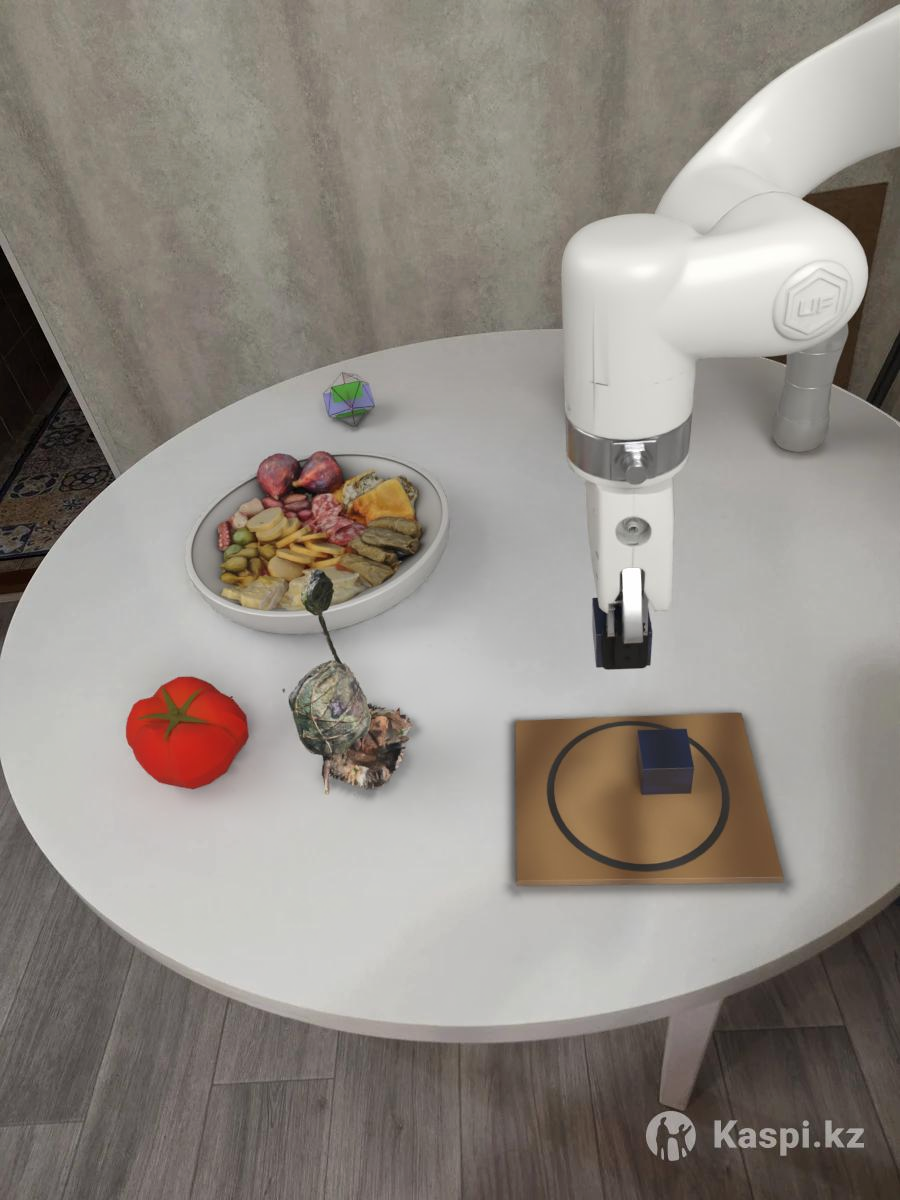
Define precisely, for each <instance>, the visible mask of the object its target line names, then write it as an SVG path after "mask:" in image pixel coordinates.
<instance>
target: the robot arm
mask: <svg viewBox="0 0 900 1200" xmlns="http://www.w3.org/2000/svg"><path fill="white" fill-rule="evenodd" d="M896 148H900V3H899V4H897V5H895V6H893V7H891V8H889V9H887V10H885V11H883V12H882V13H880V14H878V15H876V16H875V17H872V18H871V19H870V20H868V21H866V22H865V23H863V24H861V25H860V26H858V27H856V28H855V29H853V30H851V31H850V32H848V33H846V34H845V35H843V36H841V37H839V38H838V39H836V40H835V41H833V42H831V43H830V44H828V45H825V46H824V47H822V48H821V49H819V50H817V51H815V52H814V53H812V54H811V55H809V56H806V57H805V58H803V59H802V60H801V61H799V62H797V63H796V64H794V65H793V66H791V67H789V68H788V69H786V70H785V71H783V72H782V73H781V74H779V76H776V77H775V78H774V79H773V80H771V81H770V82H769V83H767V84H766V85H765V86H764V87H762V88H761V89H760V90H759V91H758V92H757V93H755V94H754V95H753V96H752V97H751V98H750V99H749V100H748V101H746V102H745V103H744V104H743V105H741V107H740V108H739V109H738V110H737V111H736V112H735V113H733V115H732V116H731V117H730V118H729V119H727V121H726V122H725V123H724V124H723V125H722V126H721V127H720V128H719V129H718V130H717V131H716V132H715V133H714V134H713V135H712V136H711V137H710V139H708V141H706V143H704V144H703V145H702V147H700V149H699V150H697V152H696V153H695V154H694V155H693V156H692V158H690V160H688V162H687V163H686V164H685V166H683V168H682V169H681V170H680V171H679V172H678V174H677V175H676V176H675V178H674V179H673V181H672V182H671V183H670V185H669V186H668V188H667V189H666V190H665V192H664V194H663V195H662V197H661V199H660V201H659V203H658V205H657V207H656V209H655V211H654V213H642V212H641V213H626V214H624V213H623V214H618V215H614V216H610V217H605V218H601V219H598V220H595V221H593V222H590V223H588V224H587V225H585V226H584V227H581V228H580V229H579V230H578V231H576V232H575V233H574V234H573V235H572V236H571V237H570V239H569V240H568V242H567V244H566V245H565V248H564V250H563V254H562V257H561V273H560V274H561V275H560V276H561V278H560V280H561V281H560V283H561V316H562V317H561V319H562V350H563V353H562V355H563V382H564V383H563V384H564V385H563V387H564V388H563V389H564V416H565V418H564V419H565V459H566V463H567V464H568V467H569V469H570V470H572V472H573V473H575V475H577V476H578V477H579V478H581V479H583V480H584V481H585V505H586V506H585V507H586V522H587V523H586V525H587V534H588V544H589V545H588V546H589V552H590V560H591V566H592V567H591V568H592V573H593V578H594V585H595V591H596V596H597V597H596V598H598V604H599V608H600V609H601V610H603V611H604V612H605V613H606V626H602V663H603V667H602V668H603V669H604V670H607V671H610V670H636V669H646V668H647V667H648V666H647V661H648V643H649V624H648V608H649V603H650V605H651V607H652V609H653V610H654V612H668V611H669V610H670V608H671V607H672V605H673V595H674V594H673V591H674V590H673V589H674V557H675V555H674V554H675V485H674V484H675V483H674V477H676V476H677V475H678V474H679V473H680V472H681V471H683V469H684V468H685V466H686V465H687V463H688V461H689V454H690V445H691V432H692V421H693V407H694V397H695V385H696V384H695V383H696V374H697V373H696V372H697V362H698V361H700V360H706V359H732V358H733V359H734V358H735V359H736V358H739V359H740V358H742V359H743V358H768V357H779V356H787V354H791V353H795V352H799V351H802V350H805V349H808V348H811V347H813V346H815V345H817V344H820V343H821V342H823V341H825V340H826V339H828V338H830V337H831V336H833V335H834V334H835V333H837V332H838V331H839V330H840V329H841V328H842V327H843V326H844V325H845V324H846V323H848V322H849V321H850V320H851V319H852V318H853V316H854V315H855V313H856V312H857V311H858V309H859V307H860V306H861V304H862V301H863V299H864V296H865V293H866V291H867V287H868V281H869V266H868V260H867V256H866V253H865V250H864V248H863V246H862V244H861V243H860V241H859V240H858V238H857V237H856V236H855V234H854V233H853V232H852V231H851V229H849V228H848V227H847V226H846V225H845V224H844V223H843V222H841V221H840V220H839V219H838V218H835V217H834V216H832V215H831V214H829V213H827V212H826V211H824V210H822V209H821V208H818V207H817V206H814V205H813V204H810V203H809V202H807V201H805V200H803V199H804V198H805V197H806V196H807V195H808V194H810V192H812V191H813V190H814V189H816V188H817V187H818V186H820V185H821V184H822V183H825V182H826V181H827V180H828V179H830V178H831V177H833V176H834V175H836V174H838V173H839V172H841V171H843V170H844V169H847V168H848V167H850V166H853V165H854V164H856V163H858V162H861V161H862V160H865V159H867V158H870V157H872V156H875V155H878V154H880V153H883V152H887V151H890V150H893V149H896ZM615 608H622V619H616V620H615Z"/></svg>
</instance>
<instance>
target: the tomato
mask: <svg viewBox="0 0 900 1200" xmlns="http://www.w3.org/2000/svg"><path fill="white" fill-rule="evenodd" d="M248 725H249V724H248V718H247V714H246V713H245V711H244V710H243V709H242V708H241V707H240V706H239V704H238V702H236V701H235V699H234V698H232V697H231V696H229V695H226V694H225V693H223V692H221V691H220V690H219V689H218V688H216V686H214V685H213V684H212V683H211V682H209V681H206V680H204V679H201V678H198V677H196V676H177V677H175V678H173V679H171V680H170V681H168V682H165V683H163V684H161V685H160V686H159V688H158V689H157V690H156V691H155V693H154V694H153V696H150V697H148V698H142V699H138V700H137V701H136V702H135V703H133V705H132V707H131V710H130V712H129V714H128V716H127V719H126V724H125V738H126V742H127V745H128V746H129V747H130V748H131V750H132V753H133V755H134V758H135V760H136V761H137V763H138V764H139V765H140V766H141V768H142V770H144V771H145V772H146V774H148V775H149V776H150V777H151V778H153V779H154V780H155V781H156V782H158V783H161V784H163V785H168V786H173V787H178V788H183V789H189V790H196V789H198V788H201V787H205V786H207V785H210V784H212V783H213V782H215V781H216V780H217V779H219V778H220V777H222V776H223V775H224V774H226V773H228V770H229V769H230V767H231V765H232V763H233V762H234V760H235V759H236V756H237V755H238V754H239V753H240V751H241V750H242V749H243V747H244V746H245V745H246V744H247V741H248V739H249V737H250V736H249V735H250V734H249V726H248Z"/></svg>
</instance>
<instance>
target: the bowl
mask: <svg viewBox="0 0 900 1200" xmlns="http://www.w3.org/2000/svg"><path fill="white" fill-rule="evenodd" d="M450 527H451V517H450V508H449V502H448V499H447V496H446V493H445V490H444V489H443V487H442V486H441V484H440V483H439V482H438V481H437V480H436V478H435V477H433V476H432V475H431V474H430V473H429V472H428V471H426V470H425V469H423V468H422V467H420V466H419V465H417V464H415V463H413V462H410V461H409V460H406V459H403V458H401V457H397V456H394V455H389V454H385V453H378V452H372V451H359V450H343V451H328V452H327V451H324V450H320V451H319V450H318V451H315V452H313V453H312V454H310V455H305V456H301V457H294V456H292V455H291V454H287V453H282V452H278V453H274V454H271V455H269V456H268V457H266V458H264V459H263V460H262V461H261V462H260V463H259V465H258V468H257V471H256V472H255V473H253V474H251V475H249V476H248V477H246V478H244V479H242V480H241V481H239V482H237V483H235V484H234V485H233V486H231V487H229V488H228V489H227V490H225V491H224V492H223V493H222V494H220V495H219V496H218V497H217V498H216V499H214V501H212V502H211V503H210V504H209V505H208V507H207V508H206V509H204V511H203V512H202V514H201V515H200V516H199V517H198V519H197V520H196V522H195V523H194V525H193V527H192V528H191V531H190V533H189V535H188V537H187V540H186V544H185V552H184V555H185V556H184V560H185V566H186V571H187V573H188V575H189V578H190V580H191V582H192V585H193V586H194V589H196V591H197V593H198V594H199V595H200V597H201V598H202V599H203V601H204V602H205V603H207V605H209V607H210V608H211V609H212V610H214V611H216V612H217V613H218V614H220V615H222V616H223V617H224V618H226V619H228V620H230V621H231V622H234V623H236V624H238V625H241V626H244V627H246V628H249V629H252V630H256V631H260V632H264V633H272V634H279V635H309V634H310V635H311V634H319V633H324V632H323V628H322V627H321V624H320V622H319V618H318V615H317V616H315V615H313V614H311V613H310V612H309V611H307V610H306V608H305V606H304V605H303V603H302V601H301V589H302V586H303V584H304V581H305V580H306V578H307V577H308V576H309V575H310V574H311V571H312V570H313V569H315V570H322V571H323V572H324V573H325V574H326V576H327V577H328V578H330V579H331V581H332V583H333V589H334V593H333V597H332V600H331V604H330V606H329V608H328V610H327V611H324V612H322V613H323V617H324V620H325V623H326V627H327V630H328V632H331V631H336V630H340V629H345V628H348V627H351V626H354V625H357V624H360V623H363V622H365V621H367V620H370V619H372V618H375V617H377V616H379V615H382V614H383V613H385V612H387V611H388V610H390V609H392V608H394V607H395V606H397V605H398V604H400V603H402V602H403V601H404V600H406V599H407V598H408V597H409V596H411V595H412V594H413V593H414V592H415V591H416V590H417V589H418V588H420V587H421V586H422V585H423V584H424V582H426V580H427V579H428V578H429V577H430V575H431V574H432V573H433V572H434V570H435V568H436V567H437V565H438V564H439V562H440V560H441V559H442V556H443V554H444V552H445V550H446V547H447V544H448V540H449V536H450Z"/></svg>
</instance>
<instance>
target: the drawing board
mask: <svg viewBox="0 0 900 1200" xmlns="http://www.w3.org/2000/svg"><path fill="white" fill-rule="evenodd" d="M657 729H687V733H688V738H689V743H690V749H691V754H692V759H693V764H694V774H693V782H692V790H691V794H652V795H642V794H641V787H640V780H639V772H638V765H637V757H636V752H637V731H638V730H657ZM751 748H752V747H751V745H750V740H749V737H748V733H747V728H746V725H745V721H744V717H743V714H742V712H722V713H721V712H720V713H719V712H718V713H691V714H665V715H664V714H663V715H637V716H635V715H634V716H610V717H609V716H608V717H607V716H606V717H604V716H603V717H580V718H579V717H578V718H550V719H548V718H547V719H522V720H515V810H516V811H515V824H516V825H515V827H516V828H515V829H516V830H515V833H516V834H515V835H516V836H515V838H516V842H515V843H516V844H515V845H516V848H515V849H516V850H515V851H516V886H518V887H536V886H537V887H539V886H547V887H550V886H551V887H553V886H614V885H615V886H619V885H623V886H625V885H626V886H627V885H689V884H691V885H694V884H695V885H696V884H700V885H701V884H752V883H753V884H760V883H762V884H766V883H767V884H768V883H769V884H770V883H771V884H772V883H774V884H775V883H783V880H784V873H783V870H782V866H781V861H780V858H779V854H778V850H777V845H776V842H775V837H774V835H773V830H772V827H771V823H770V818H769V814H768V811H767V807H766V803H765V799H764V796H763V792H762V788H761V782H760V780H759V776H758V772H757V768H756V765H755V764H756V763H755V760H754V756H753V753H752V749H751Z"/></svg>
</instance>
